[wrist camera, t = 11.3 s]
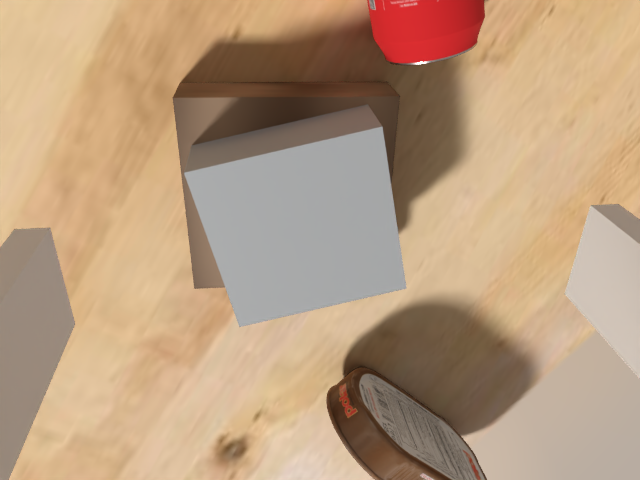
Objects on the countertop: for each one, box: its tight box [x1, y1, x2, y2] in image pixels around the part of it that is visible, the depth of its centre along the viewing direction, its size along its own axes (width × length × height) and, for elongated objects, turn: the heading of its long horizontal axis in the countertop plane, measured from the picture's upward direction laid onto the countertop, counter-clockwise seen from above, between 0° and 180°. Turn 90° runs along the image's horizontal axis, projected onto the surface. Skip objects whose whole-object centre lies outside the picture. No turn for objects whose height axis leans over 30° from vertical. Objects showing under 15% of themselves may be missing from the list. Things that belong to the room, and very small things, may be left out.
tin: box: [327, 367, 487, 480], centre depth 38 cm, size 15×3×8 cm, turn 46°
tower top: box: [184, 104, 406, 327], centre depth 28 cm, size 9×9×4 cm
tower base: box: [173, 82, 400, 289], centre depth 31 cm, size 11×11×4 cm
